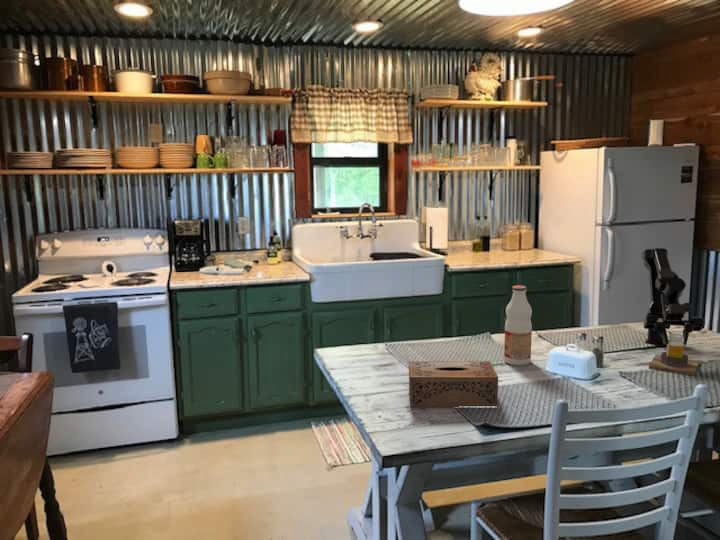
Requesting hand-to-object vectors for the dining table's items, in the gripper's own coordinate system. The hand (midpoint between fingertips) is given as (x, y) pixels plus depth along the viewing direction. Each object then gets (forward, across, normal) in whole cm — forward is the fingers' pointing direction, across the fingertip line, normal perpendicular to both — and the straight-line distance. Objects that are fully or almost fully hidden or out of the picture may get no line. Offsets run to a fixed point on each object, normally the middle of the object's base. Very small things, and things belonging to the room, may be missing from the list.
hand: (676, 344), depth 207 cm
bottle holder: (+5, 0, +7) cm, 8 cm away
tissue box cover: (+37, -73, -26) cm, 86 cm away
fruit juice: (+10, -53, +2) cm, 54 cm away
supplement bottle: (+4, 0, +6) cm, 7 cm away
